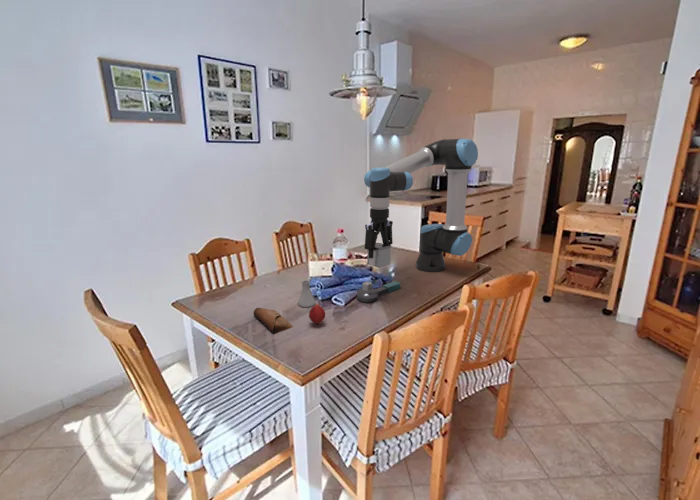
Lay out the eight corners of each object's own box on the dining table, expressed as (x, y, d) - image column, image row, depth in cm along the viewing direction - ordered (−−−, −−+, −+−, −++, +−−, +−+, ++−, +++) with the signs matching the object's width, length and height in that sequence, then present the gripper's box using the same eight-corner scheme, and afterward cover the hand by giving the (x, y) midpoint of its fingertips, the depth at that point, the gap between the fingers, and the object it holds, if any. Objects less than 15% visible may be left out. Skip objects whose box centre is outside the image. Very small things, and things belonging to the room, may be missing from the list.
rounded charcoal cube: (378, 260, 152) (378, 242, 150) (390, 264, 147) (390, 245, 145) (367, 264, 148) (367, 245, 145) (379, 267, 143) (379, 248, 141)
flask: (308, 299, 152) (307, 277, 149) (319, 304, 147) (318, 281, 144) (294, 304, 147) (293, 281, 145) (305, 309, 142) (304, 286, 140)
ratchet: (390, 284, 167) (390, 270, 165) (405, 290, 160) (405, 275, 158) (352, 298, 152) (352, 283, 150) (367, 305, 145) (367, 288, 144)
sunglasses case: (295, 326, 128) (285, 314, 125) (280, 341, 126) (270, 329, 122) (273, 310, 142) (264, 298, 139) (259, 322, 140) (250, 311, 136)
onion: (312, 329, 127) (311, 308, 125) (307, 322, 132) (306, 302, 130) (327, 325, 129) (327, 305, 127) (322, 319, 134) (321, 299, 132)
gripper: (389, 204, 150) (387, 257, 156) (354, 209, 138) (354, 266, 144) (402, 206, 145) (401, 260, 151) (368, 211, 132) (368, 271, 138)
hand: (378, 263), depth 147 cm, fingers closed on rounded charcoal cube, 7 cm apart
